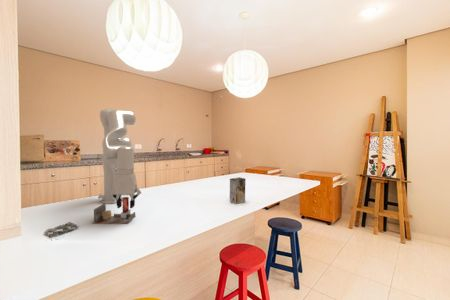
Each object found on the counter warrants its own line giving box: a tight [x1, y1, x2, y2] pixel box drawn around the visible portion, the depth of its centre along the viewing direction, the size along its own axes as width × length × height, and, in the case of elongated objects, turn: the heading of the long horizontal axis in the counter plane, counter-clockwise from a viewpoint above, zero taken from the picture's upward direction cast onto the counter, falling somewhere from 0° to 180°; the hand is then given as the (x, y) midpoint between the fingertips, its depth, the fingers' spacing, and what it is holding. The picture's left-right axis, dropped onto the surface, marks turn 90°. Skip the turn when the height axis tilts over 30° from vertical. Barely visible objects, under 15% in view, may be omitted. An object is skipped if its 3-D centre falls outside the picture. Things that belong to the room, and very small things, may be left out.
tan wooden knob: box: [102, 209, 112, 221], centre depth 106 cm, size 4×4×4 cm
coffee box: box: [229, 177, 246, 205], centre depth 144 cm, size 9×6×16 cm
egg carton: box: [43, 221, 80, 238], centre depth 92 cm, size 11×8×4 cm
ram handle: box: [120, 196, 132, 219], centre depth 106 cm, size 3×5×11 cm, turn 2°
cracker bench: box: [91, 203, 137, 225], centre depth 106 cm, size 17×10×8 cm, turn 92°
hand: (125, 207), depth 106 cm, fingers open, 5 cm apart
